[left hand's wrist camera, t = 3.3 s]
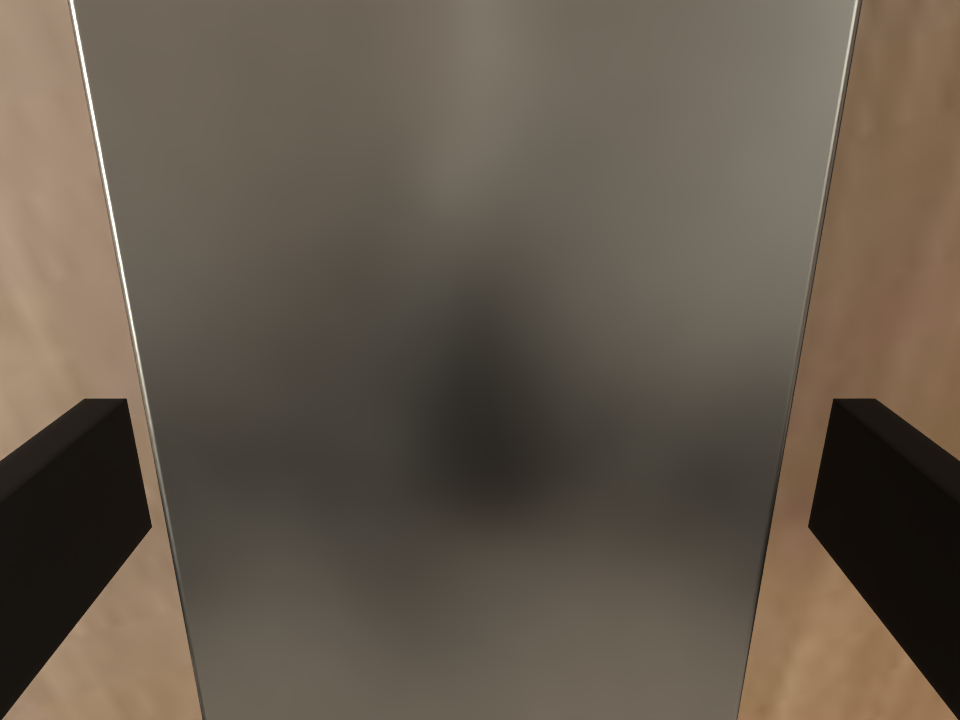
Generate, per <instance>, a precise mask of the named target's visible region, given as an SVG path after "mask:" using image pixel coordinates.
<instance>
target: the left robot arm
mask: <svg viewBox="0 0 960 720" xmlns="http://www.w3.org/2000/svg"><path fill="white" fill-rule="evenodd" d="M151 528H152V525H151V520H150V515H149V509H148V504H147V499H146V494H145V489H144V484H143V479H142V474H141V469H140V464H139V459H138V454H137V449H136V444H135V439H134V434H133V429H132V424H131V418H130V413H129V408H128V403H127V399H84V400H82V401H81V402H80V403H78V404H77V405H76V406H74V407H73V408H71V409H70V410H69V411H67V412H66V413H65V414H63V415H62V416H61V417H59V418H58V419H57V420H55V421H54V422H53V423H51V424H50V425H48V426H47V427H46V428H44V429H43V430H42V431H40V432H39V433H38V434H36V435H35V436H34V437H32V438H31V439H30V440H28V441H27V442H26V443H24V444H23V445H21V446H20V447H19V448H17V449H16V450H15V451H13V452H12V453H11V454H9V455H8V456H7V457H5V458H4V459H3V460H1V461H0V720H2V719H3V717H4V716H5V715H6V713H7V712H8V711H9V710H10V708H11V707H12V706H13V705H14V703H15V702H16V701H17V699H18V698H19V697H20V696H21V694H22V693H23V692H24V690H25V689H26V688H27V687H28V685H29V684H30V683H31V681H32V680H33V679H34V678H35V676H36V675H37V674H38V672H39V671H40V670H41V669H42V667H43V666H44V665H45V663H46V662H47V661H48V660H49V658H50V657H51V656H52V655H53V653H54V652H55V651H56V649H57V648H58V647H59V646H60V644H61V643H62V642H63V640H64V639H65V638H66V637H67V635H68V634H69V633H70V631H71V630H72V629H73V628H74V626H75V625H76V624H77V622H78V621H79V620H80V619H81V617H82V616H83V615H84V613H85V612H86V611H87V610H88V608H89V607H90V606H91V604H92V603H93V602H94V601H95V599H96V598H97V597H98V596H99V594H100V593H101V592H102V590H103V589H104V588H105V587H106V585H107V584H108V583H109V581H110V580H111V579H112V578H113V576H114V575H115V574H116V572H117V571H118V570H119V569H120V567H121V566H122V565H123V563H124V562H125V561H126V560H127V558H128V557H129V556H130V554H131V553H132V552H133V551H134V549H135V548H136V547H137V545H138V544H139V543H140V542H141V540H142V539H143V538H144V537H145V535H146V534H147V533H148V531H149V530H150V529H151ZM808 528H809V529H810V530H811V531H812V533H813V534H814V535H815V537H816V538H817V539H818V540H819V542H820V543H821V544H822V546H823V547H824V548H825V549H826V551H827V552H828V553H829V555H830V556H831V557H832V558H833V560H834V561H835V562H836V563H837V565H838V566H839V567H840V569H841V570H842V571H843V572H844V574H845V575H846V576H847V578H848V579H849V580H850V581H851V583H852V584H853V585H854V587H855V588H856V589H857V590H858V592H859V593H860V594H861V596H862V597H863V598H864V599H865V601H866V602H867V603H868V605H869V606H870V607H871V608H872V610H873V611H874V612H875V614H876V615H877V616H878V617H879V619H880V620H881V621H882V622H883V624H884V625H885V626H886V628H887V629H888V630H889V631H890V633H891V634H892V635H893V637H894V638H895V639H896V640H897V642H898V643H899V644H900V646H901V647H902V648H903V649H904V651H905V652H906V653H907V655H908V656H909V657H910V658H911V660H912V661H913V662H914V664H915V665H916V666H917V667H918V669H919V670H920V671H921V673H922V674H923V675H924V676H925V678H926V679H927V680H928V681H929V683H930V684H931V685H932V687H933V688H934V689H935V690H936V692H937V693H938V694H939V696H940V697H941V698H942V699H943V701H944V702H945V703H946V705H947V706H948V707H949V708H950V710H951V711H952V712H953V714H954V715H955V716H956V717H957V719H958V720H960V461H959V460H957V459H956V458H955V457H953V456H952V455H951V454H949V453H948V452H947V451H945V450H944V449H943V448H941V447H940V446H939V445H937V444H936V443H934V442H933V441H932V440H930V439H929V438H928V437H926V436H925V435H924V434H922V433H921V432H920V431H918V430H917V429H916V428H914V427H913V426H911V425H910V424H909V423H907V422H906V421H905V420H903V419H902V418H901V417H899V416H898V415H897V414H895V413H894V412H893V411H891V410H890V409H888V408H887V407H886V406H884V405H883V404H882V403H880V402H879V401H878V400H876V399H833V403H832V408H831V413H830V418H829V423H828V428H827V433H826V439H825V444H824V449H823V454H822V459H821V464H820V469H819V474H818V479H817V484H816V489H815V494H814V499H813V504H812V509H811V514H810V519H809V524H808Z"/></svg>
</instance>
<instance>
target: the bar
mask: <svg viewBox="0 0 960 720" xmlns="http://www.w3.org/2000/svg"><path fill="white" fill-rule="evenodd" d="M68 4H69V10H70V15H71V20H72V26H73V31H74V36H75V42H76V47H77V52H78V58H79V63H80V68H81V74H82V79H83V84H84V89H85V95H86V100H87V105H88V111H89V116H90V121H91V127H92V132H93V137H94V143H95V148H96V153H97V159H98V164H99V169H100V175H101V180H102V185H103V191H104V196H105V201H106V207H107V212H108V217H109V223H110V228H111V233H112V239H113V244H114V249H115V255H116V260H117V265H118V271H119V276H120V281H121V287H122V292H123V297H124V303H125V308H126V313H127V319H128V324H129V329H130V335H131V340H132V345H133V351H134V356H135V361H136V367H137V372H138V377H139V383H140V388H141V393H142V399H143V404H144V409H145V415H146V420H147V425H148V431H149V436H150V441H151V447H152V452H153V457H154V463H155V468H156V473H157V479H158V484H159V489H160V495H161V500H162V505H163V511H164V516H165V521H166V527H167V532H168V537H169V542H170V548H171V553H172V558H173V564H174V569H175V574H176V580H177V585H178V590H179V596H180V601H181V606H182V612H183V617H184V622H185V628H186V633H187V638H188V644H189V649H190V654H191V660H192V665H193V670H194V676H195V681H196V686H197V692H198V697H199V702H200V708H201V713H202V718H203V720H737V718H738V712H739V706H740V700H741V695H742V689H743V683H744V677H745V672H746V666H747V660H748V654H749V649H750V643H751V637H752V631H753V626H754V620H755V614H756V608H757V603H758V597H759V591H760V585H761V580H762V574H763V568H764V562H765V557H766V551H767V545H768V539H769V534H770V528H771V522H772V516H773V511H774V505H775V499H776V493H777V488H778V482H779V476H780V470H781V465H782V459H783V453H784V447H785V442H786V436H787V430H788V424H789V419H790V413H791V407H792V401H793V396H794V390H795V384H796V378H797V373H798V367H799V361H800V355H801V350H802V344H803V338H804V332H805V327H806V321H807V315H808V309H809V304H810V298H811V292H812V286H813V281H814V275H815V269H816V263H817V258H818V252H819V246H820V240H821V235H822V229H823V223H824V217H825V212H826V206H827V200H828V194H829V189H830V183H831V177H832V171H833V166H834V160H835V154H836V148H837V143H838V137H839V131H840V125H841V120H842V114H843V108H844V102H845V97H846V91H847V85H848V79H849V74H850V68H851V62H852V56H853V51H854V45H855V39H856V33H857V28H858V22H859V16H860V10H861V5H862V0H68Z"/></svg>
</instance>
